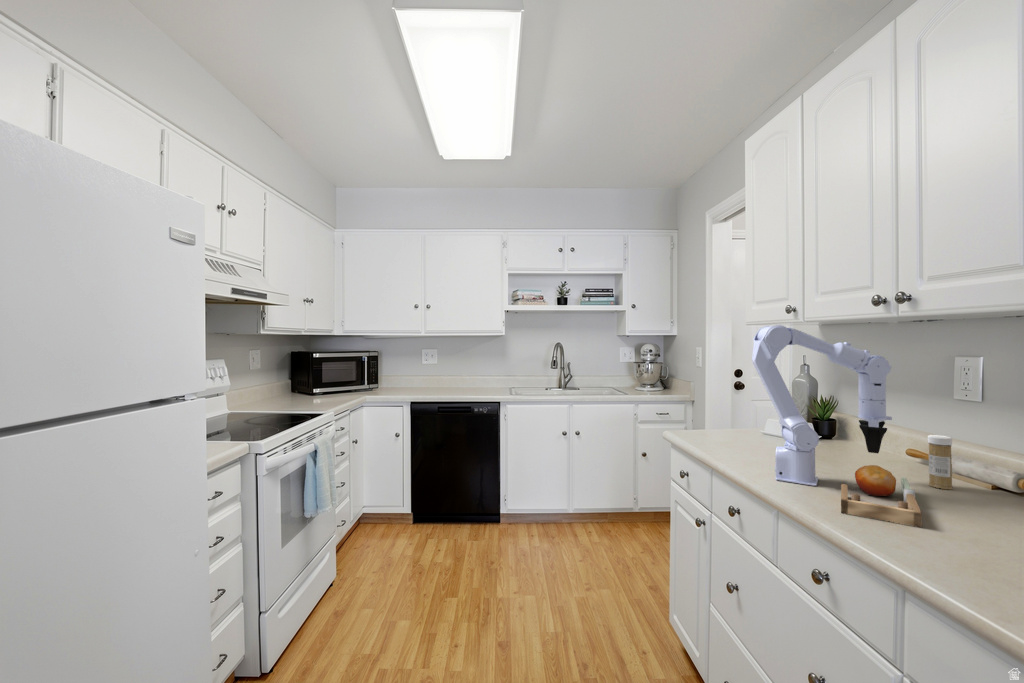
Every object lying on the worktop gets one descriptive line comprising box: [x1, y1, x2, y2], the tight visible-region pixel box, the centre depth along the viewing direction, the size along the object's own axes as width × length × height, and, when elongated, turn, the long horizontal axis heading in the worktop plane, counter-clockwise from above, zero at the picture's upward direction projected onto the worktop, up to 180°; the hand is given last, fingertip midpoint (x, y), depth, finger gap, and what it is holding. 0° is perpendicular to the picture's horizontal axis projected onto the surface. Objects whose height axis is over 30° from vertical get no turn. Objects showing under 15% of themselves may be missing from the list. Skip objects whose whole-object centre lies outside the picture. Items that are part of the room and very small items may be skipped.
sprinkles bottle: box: [927, 434, 953, 490], centre depth 115 cm, size 5×5×14 cm
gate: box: [900, 476, 916, 502], centre depth 107 cm, size 13×2×3 cm, turn 143°
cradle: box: [840, 483, 923, 528], centre depth 100 cm, size 13×13×4 cm
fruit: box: [854, 464, 897, 497], centre depth 111 cm, size 8×8×8 cm
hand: (872, 449), depth 118 cm, fingers open, 7 cm apart
